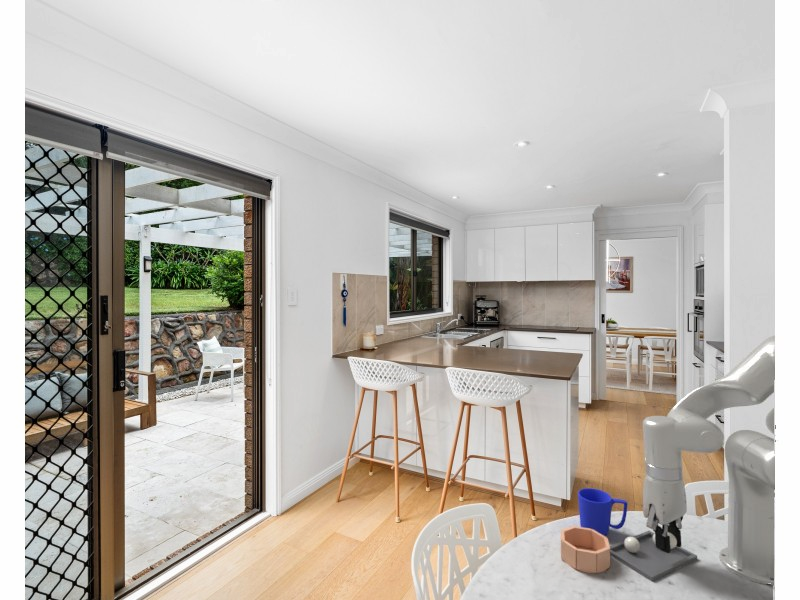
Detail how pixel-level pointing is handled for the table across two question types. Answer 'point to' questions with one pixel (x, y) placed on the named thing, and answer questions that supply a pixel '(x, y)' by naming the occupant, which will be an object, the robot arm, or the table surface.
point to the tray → (651, 557)
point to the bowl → (585, 549)
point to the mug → (598, 510)
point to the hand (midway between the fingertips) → (668, 546)
